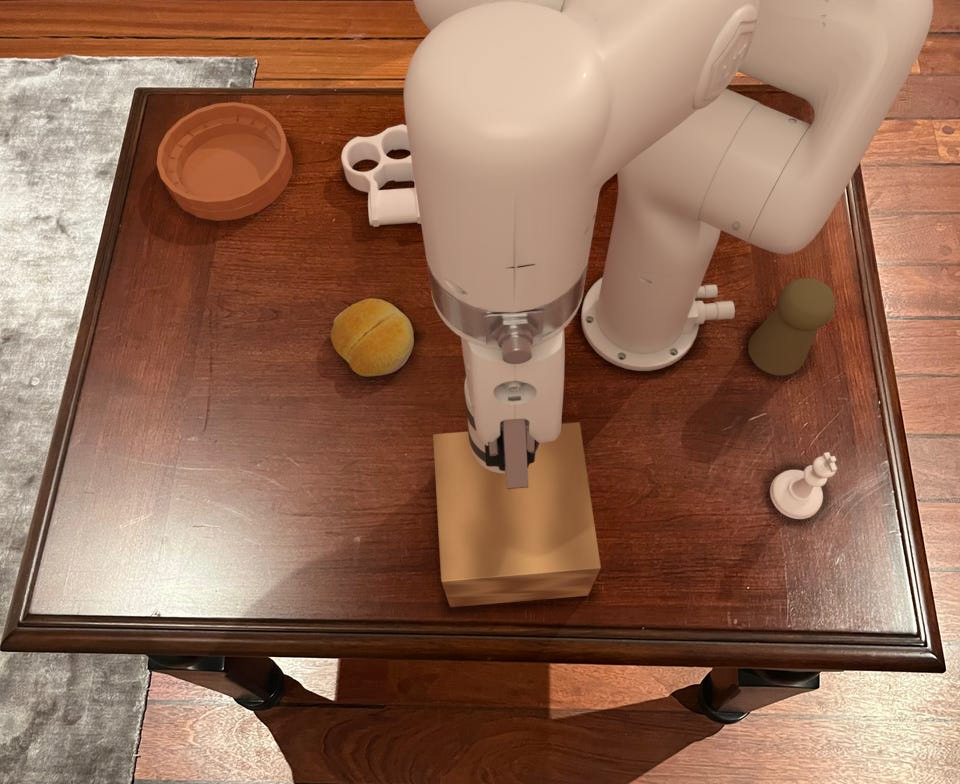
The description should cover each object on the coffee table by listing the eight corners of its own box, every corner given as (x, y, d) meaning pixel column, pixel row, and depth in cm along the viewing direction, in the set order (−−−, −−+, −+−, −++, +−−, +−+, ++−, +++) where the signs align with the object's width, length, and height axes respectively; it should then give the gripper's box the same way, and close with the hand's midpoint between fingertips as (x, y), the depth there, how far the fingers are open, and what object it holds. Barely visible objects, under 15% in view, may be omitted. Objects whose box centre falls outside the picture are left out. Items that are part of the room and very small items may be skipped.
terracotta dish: (295, 121, 101) (287, 97, 98) (292, 217, 95) (283, 195, 91) (175, 131, 101) (163, 107, 98) (164, 228, 95) (150, 206, 91)
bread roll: (371, 393, 84) (365, 376, 81) (322, 338, 87) (314, 319, 84) (432, 348, 86) (429, 329, 83) (382, 295, 90) (376, 275, 86)
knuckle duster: (344, 234, 93) (346, 139, 100) (498, 224, 93) (490, 129, 100) (339, 216, 90) (341, 119, 97) (498, 205, 90) (489, 109, 97)
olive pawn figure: (745, 369, 84) (777, 315, 74) (750, 321, 87) (782, 262, 77) (803, 380, 83) (844, 327, 74) (807, 331, 86) (847, 274, 76)
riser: (570, 465, 80) (579, 421, 70) (588, 595, 75) (601, 568, 65) (441, 476, 80) (432, 434, 70) (449, 607, 74) (441, 581, 65)
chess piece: (783, 525, 77) (820, 492, 68) (761, 479, 79) (794, 441, 70) (830, 511, 77) (873, 476, 68) (807, 465, 79) (845, 425, 70)
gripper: (611, 425, 34) (576, 539, 51) (564, 126, 42) (547, 309, 58) (436, 438, 34) (458, 548, 50) (421, 136, 42) (444, 317, 58)
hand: (506, 419), depth 54 cm, fingers closed on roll, 5 cm apart
